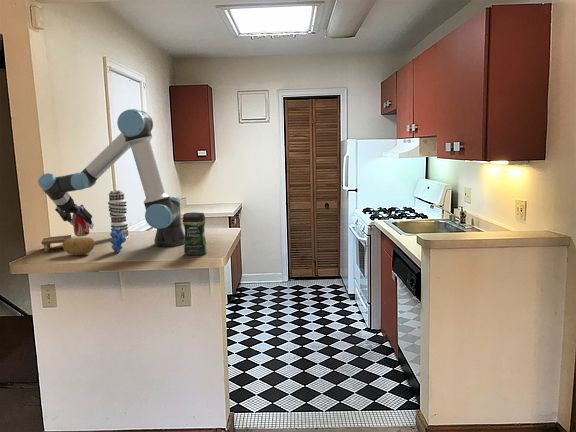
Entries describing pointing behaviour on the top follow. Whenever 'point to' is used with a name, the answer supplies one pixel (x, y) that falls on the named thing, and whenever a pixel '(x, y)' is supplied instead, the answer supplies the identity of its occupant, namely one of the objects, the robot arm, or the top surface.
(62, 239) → the shelf stand
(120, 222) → the decorative candle
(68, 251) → the potato
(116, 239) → the grapes
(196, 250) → the coffee jar
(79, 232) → the soda can
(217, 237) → the top surface
